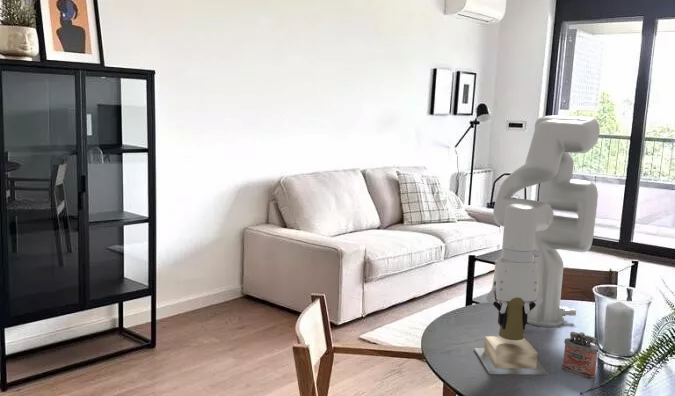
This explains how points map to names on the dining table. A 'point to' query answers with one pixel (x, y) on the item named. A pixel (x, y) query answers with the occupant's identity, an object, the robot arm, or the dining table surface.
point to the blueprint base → (509, 357)
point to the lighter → (580, 355)
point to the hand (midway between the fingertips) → (511, 326)
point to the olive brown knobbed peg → (513, 320)
